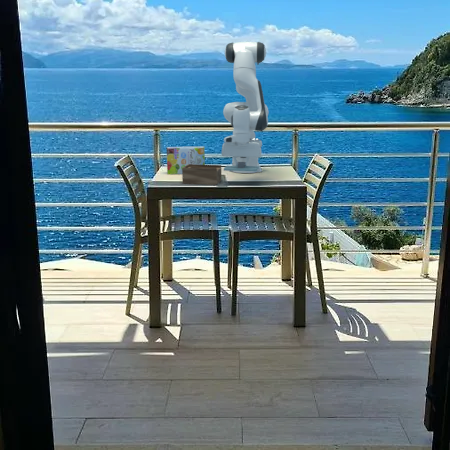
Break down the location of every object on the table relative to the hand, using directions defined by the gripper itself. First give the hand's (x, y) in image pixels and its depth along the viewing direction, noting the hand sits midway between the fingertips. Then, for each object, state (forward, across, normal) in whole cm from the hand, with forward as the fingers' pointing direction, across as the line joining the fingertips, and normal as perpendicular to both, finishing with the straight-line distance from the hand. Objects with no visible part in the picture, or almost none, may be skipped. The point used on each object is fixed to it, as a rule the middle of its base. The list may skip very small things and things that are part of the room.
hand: (241, 165), depth 298 cm
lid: (+2, 0, 0) cm, 2 cm away
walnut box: (+9, +21, 0) cm, 23 cm away
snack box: (+10, +36, -24) cm, 44 cm away
